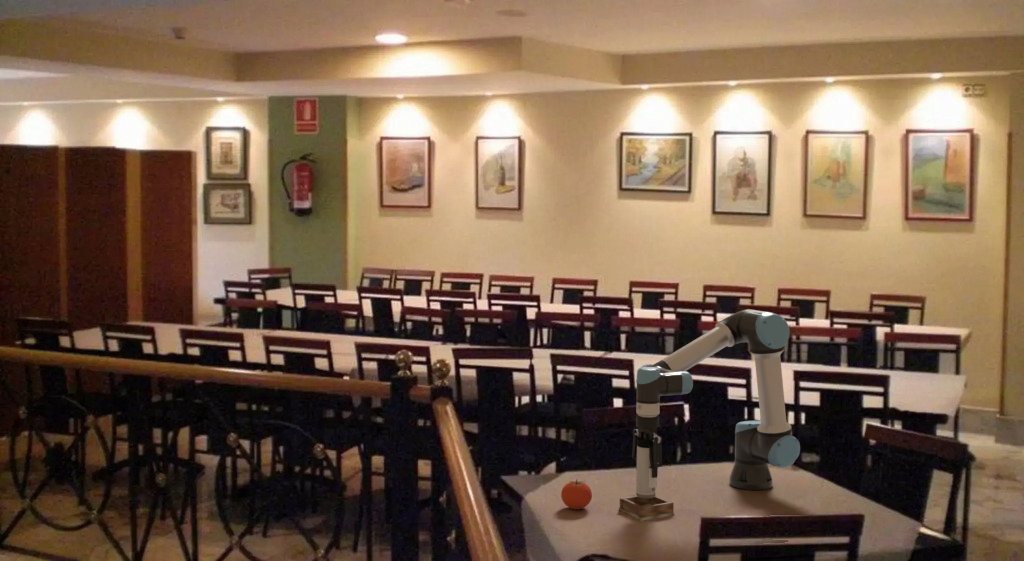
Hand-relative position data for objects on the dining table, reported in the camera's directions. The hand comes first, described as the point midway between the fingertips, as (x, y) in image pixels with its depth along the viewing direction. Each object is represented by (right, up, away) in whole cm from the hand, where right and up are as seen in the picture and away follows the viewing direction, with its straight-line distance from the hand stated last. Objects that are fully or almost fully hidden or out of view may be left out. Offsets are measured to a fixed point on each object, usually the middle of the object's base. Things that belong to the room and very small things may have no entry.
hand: (646, 484), depth 342 cm
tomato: (-23, -9, +5) cm, 25 cm away
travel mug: (0, -4, 0) cm, 4 cm away
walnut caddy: (0, -9, +1) cm, 10 cm away
